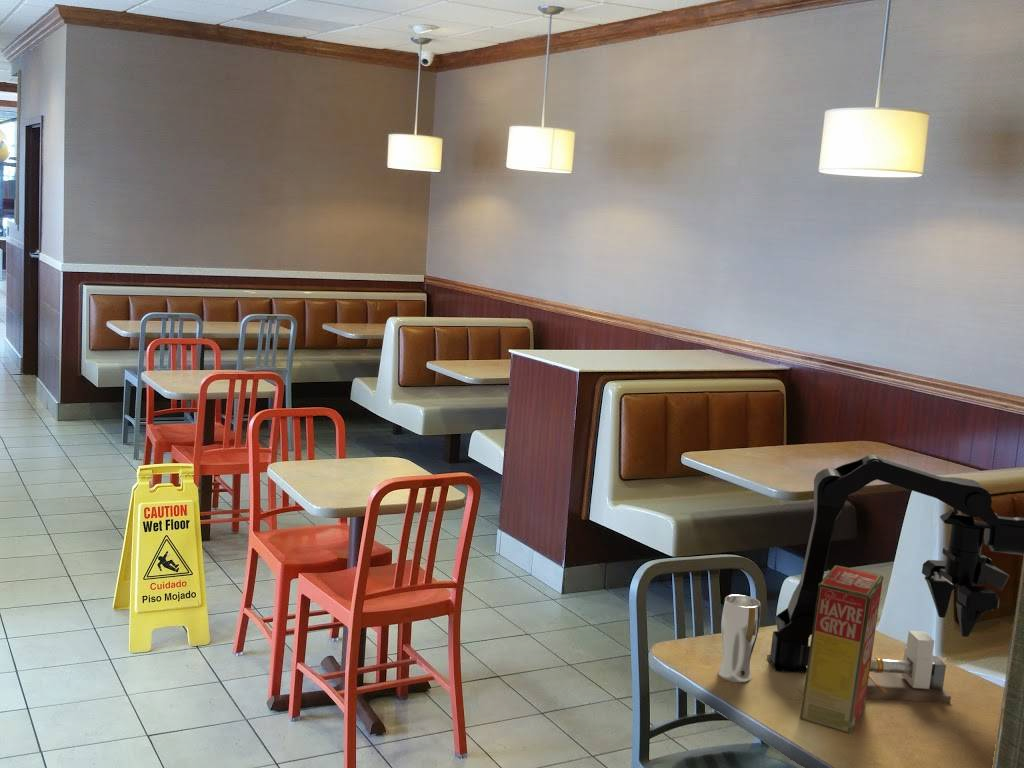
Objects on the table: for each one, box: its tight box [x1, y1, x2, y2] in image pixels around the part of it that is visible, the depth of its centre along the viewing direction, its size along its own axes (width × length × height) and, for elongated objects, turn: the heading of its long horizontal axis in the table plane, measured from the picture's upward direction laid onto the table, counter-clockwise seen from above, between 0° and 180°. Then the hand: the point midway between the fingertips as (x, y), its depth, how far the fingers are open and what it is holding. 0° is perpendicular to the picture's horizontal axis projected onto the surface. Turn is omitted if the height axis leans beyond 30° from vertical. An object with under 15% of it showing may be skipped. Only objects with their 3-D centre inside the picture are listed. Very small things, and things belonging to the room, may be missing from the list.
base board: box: [866, 672, 952, 703], centre depth 195 cm, size 18×9×1 cm, turn 92°
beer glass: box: [717, 594, 761, 684], centre depth 194 cm, size 7×7×15 cm
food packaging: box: [799, 564, 885, 735], centre depth 181 cm, size 13×9×25 cm
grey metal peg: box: [869, 655, 947, 690], centre depth 194 cm, size 17×4×5 cm, turn 92°
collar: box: [901, 630, 935, 689], centre depth 194 cm, size 3×6×9 cm, turn 2°
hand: (953, 626), depth 195 cm, fingers open, 9 cm apart
